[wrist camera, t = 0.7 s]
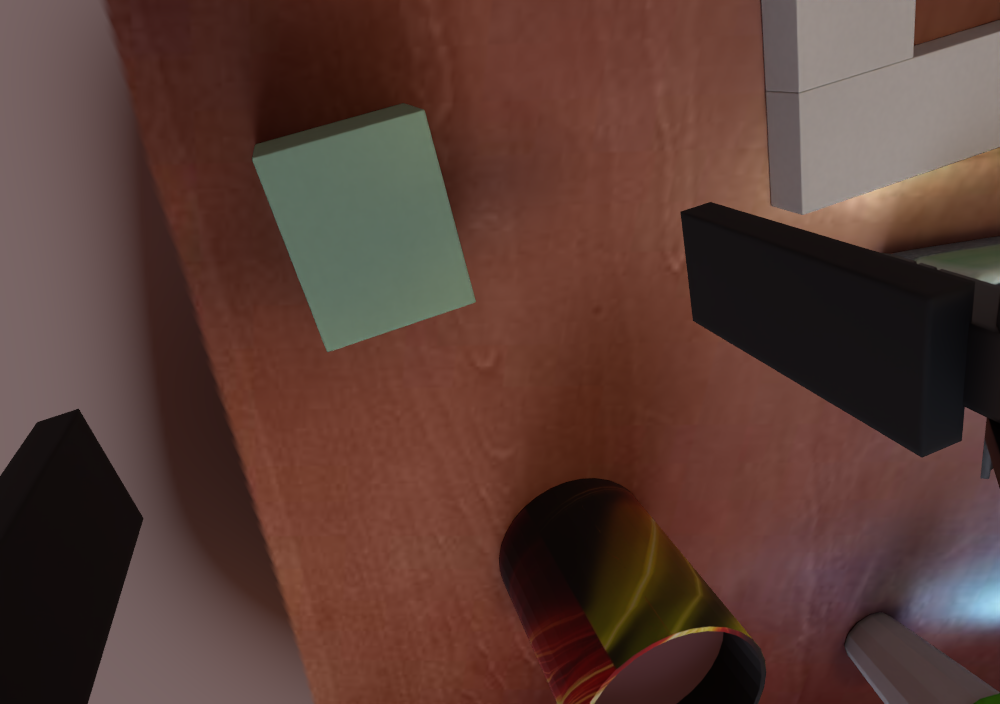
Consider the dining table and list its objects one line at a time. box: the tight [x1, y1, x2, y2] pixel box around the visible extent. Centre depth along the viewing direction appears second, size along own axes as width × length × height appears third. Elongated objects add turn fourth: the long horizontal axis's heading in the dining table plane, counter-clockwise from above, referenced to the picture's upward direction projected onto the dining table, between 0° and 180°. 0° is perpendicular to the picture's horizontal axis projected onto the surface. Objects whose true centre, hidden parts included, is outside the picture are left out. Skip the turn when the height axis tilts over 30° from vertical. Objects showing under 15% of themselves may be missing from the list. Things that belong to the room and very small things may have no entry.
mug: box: [499, 479, 766, 704], centre depth 37 cm, size 10×14×12 cm
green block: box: [252, 103, 476, 352], centre depth 28 cm, size 8×6×4 cm
